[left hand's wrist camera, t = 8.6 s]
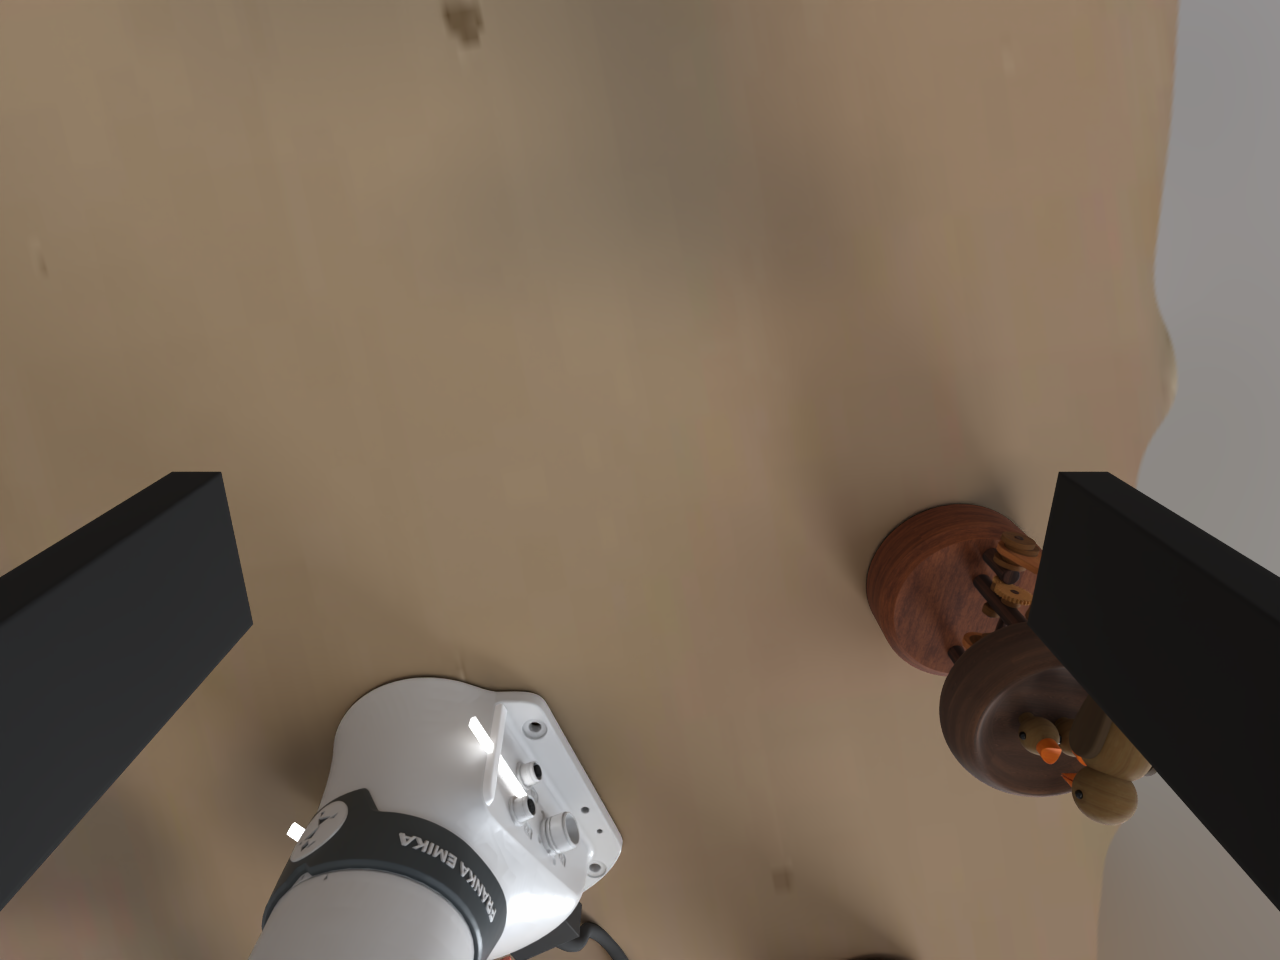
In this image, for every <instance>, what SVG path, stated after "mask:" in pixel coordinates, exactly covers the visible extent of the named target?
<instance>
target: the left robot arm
mask: <svg viewBox="0 0 1280 960" xmlns="http://www.w3.org/2000/svg"><path fill="white" fill-rule="evenodd" d="M252 625H253V621H252V616H251V612H250V607H249V602H248V597H247V593H246V588H245V583H244V578H243V574H242V569H241V564H240V559H239V555H238V550H237V545H236V540H235V536H234V531H233V526H232V521H231V516H230V512H229V507H228V502H227V497H226V493H225V488H224V483H223V478H222V474H221V472H171V473H170V474H168V475H166V476H165V477H163V478H161V479H160V480H158V481H157V482H155V483H153V484H152V485H150V486H148V487H147V488H145V489H143V490H142V491H140V492H139V493H137V494H135V495H134V496H132V497H130V498H129V499H127V500H126V501H124V502H122V503H121V504H119V505H117V506H116V507H114V508H113V509H111V510H109V511H108V512H106V513H104V514H103V515H101V516H100V517H98V518H96V519H95V520H93V521H91V522H90V523H88V524H86V525H85V526H83V527H82V528H80V529H78V530H77V531H75V532H73V533H72V534H70V535H69V536H67V537H65V538H64V539H62V540H60V541H59V542H57V543H56V544H54V545H52V546H51V547H49V548H47V549H46V550H44V551H42V552H41V553H39V554H38V555H36V556H34V557H33V558H31V559H29V560H28V561H26V562H25V563H23V564H21V565H20V566H18V567H16V568H15V569H13V570H12V571H10V572H8V573H7V574H5V575H3V576H2V577H0V911H1V910H2V909H3V908H4V906H5V905H6V904H7V903H8V902H9V901H10V900H11V899H12V897H13V896H14V895H15V894H16V893H17V892H18V891H19V889H20V888H21V887H22V886H23V885H24V884H25V883H26V881H27V880H28V879H29V878H30V877H31V876H32V875H33V874H34V872H35V871H36V870H37V869H38V868H39V867H40V866H41V864H42V863H43V862H44V861H45V860H46V859H47V858H48V857H49V855H50V854H51V853H52V852H53V851H54V850H55V849H56V847H57V846H58V845H59V844H60V843H61V842H62V841H63V839H64V838H65V837H66V836H67V835H68V834H69V833H70V832H71V830H72V829H73V828H74V827H75V826H76V825H77V824H78V822H79V821H80V820H81V819H82V818H83V817H84V816H85V814H86V813H87V812H88V811H89V810H90V809H91V808H92V807H93V805H94V804H95V803H96V802H97V801H98V800H99V799H100V797H101V796H102V795H103V794H104V793H105V792H106V791H107V790H108V788H109V787H110V786H111V785H112V784H113V783H114V782H115V780H116V779H117V778H118V777H119V776H120V775H121V774H122V772H123V771H124V770H125V769H126V768H127V767H128V766H129V765H130V763H131V762H132V761H133V760H134V759H135V758H136V757H137V755H138V754H139V753H140V752H141V751H142V750H143V749H144V747H145V746H146V745H147V744H148V743H149V742H150V741H151V740H152V738H153V737H154V736H155V735H156V734H157V733H158V732H159V730H160V729H161V728H162V727H163V726H164V725H165V724H166V722H167V721H168V720H169V719H170V718H171V717H172V716H173V715H174V713H175V712H176V711H177V710H178V709H179V708H180V707H181V705H182V704H183V703H184V702H185V701H186V700H187V699H188V698H189V696H190V695H191V694H192V693H193V692H194V691H195V690H196V688H197V687H198V686H199V685H200V684H201V683H202V682H203V680H204V679H205V678H206V677H207V676H208V675H209V674H210V673H211V671H212V670H213V669H214V668H215V667H216V666H217V665H218V663H219V662H220V661H221V660H222V659H223V658H224V657H225V655H226V654H227V653H228V652H229V651H230V650H231V649H232V648H233V646H234V645H235V644H236V643H237V642H238V641H239V640H240V638H241V637H242V636H243V635H244V634H245V633H246V632H247V631H248V629H249V628H250V627H251V626H252ZM1027 625H1028V626H1029V627H1030V628H1031V629H1032V631H1033V632H1034V633H1035V634H1036V635H1037V636H1038V637H1039V638H1040V640H1041V641H1042V642H1043V643H1044V644H1045V645H1046V646H1047V648H1048V649H1049V650H1050V651H1051V652H1052V653H1053V654H1054V655H1055V657H1056V658H1057V659H1058V660H1059V661H1060V662H1061V663H1062V665H1063V666H1064V667H1065V668H1066V669H1067V670H1068V671H1069V673H1070V674H1071V675H1072V676H1073V677H1074V678H1075V679H1076V680H1077V682H1078V683H1079V684H1080V685H1081V686H1082V687H1083V688H1084V690H1085V691H1086V692H1087V693H1088V694H1089V695H1090V696H1091V698H1092V699H1093V700H1094V701H1095V702H1096V703H1097V704H1098V705H1099V707H1100V708H1101V709H1102V710H1103V711H1104V712H1105V713H1106V715H1107V716H1108V717H1109V718H1110V719H1111V720H1112V721H1113V722H1114V724H1115V725H1116V726H1117V727H1118V728H1119V729H1120V730H1121V732H1122V733H1123V734H1124V735H1125V736H1126V737H1127V738H1128V740H1129V741H1130V742H1131V743H1132V744H1133V745H1134V746H1135V747H1136V749H1137V750H1138V751H1139V752H1140V753H1141V754H1142V755H1143V757H1144V758H1145V759H1146V760H1147V761H1148V762H1149V763H1150V765H1151V766H1152V767H1153V768H1154V769H1155V770H1156V771H1157V772H1158V774H1159V775H1160V776H1161V777H1162V778H1163V779H1164V780H1165V782H1166V783H1167V784H1168V785H1169V786H1170V787H1171V788H1172V789H1173V791H1174V792H1175V793H1176V794H1177V795H1178V796H1179V797H1180V799H1181V800H1182V801H1183V802H1184V803H1185V804H1186V805H1187V807H1188V808H1189V809H1190V810H1191V811H1192V812H1193V813H1194V814H1195V816H1196V817H1197V818H1198V819H1199V820H1200V821H1201V822H1202V824H1203V825H1204V826H1205V827H1206V828H1207V829H1208V830H1209V832H1210V833H1211V834H1212V835H1213V836H1214V837H1215V838H1216V839H1217V841H1218V842H1219V843H1220V844H1221V845H1222V846H1223V847H1224V849H1225V850H1226V851H1227V852H1228V853H1229V854H1230V855H1231V857H1232V858H1233V859H1234V860H1235V861H1236V862H1237V863H1238V864H1239V866H1240V867H1241V868H1242V869H1243V870H1244V871H1245V872H1246V873H1247V875H1248V876H1249V877H1250V878H1251V879H1252V880H1253V881H1254V883H1255V884H1256V885H1257V886H1258V887H1259V888H1260V889H1261V891H1262V892H1263V893H1264V894H1265V895H1266V896H1267V897H1268V899H1269V900H1270V901H1271V902H1272V903H1273V904H1274V905H1275V906H1276V908H1277V909H1278V910H1279V911H1280V577H1278V576H1277V575H1275V574H1273V573H1272V572H1270V571H1268V570H1267V569H1265V568H1264V567H1262V566H1260V565H1259V564H1257V563H1255V562H1254V561H1252V560H1251V559H1249V558H1247V557H1246V556H1244V555H1242V554H1241V553H1239V552H1237V551H1236V550H1234V549H1233V548H1231V547H1229V546H1228V545H1226V544H1224V543H1223V542H1221V541H1220V540H1218V539H1216V538H1215V537H1213V536H1211V535H1210V534H1208V533H1207V532H1205V531H1203V530H1202V529H1200V528H1198V527H1197V526H1195V525H1194V524H1192V523H1190V522H1189V521H1187V520H1185V519H1184V518H1182V517H1180V516H1179V515H1177V514H1176V513H1174V512H1172V511H1171V510H1169V509H1167V508H1166V507H1164V506H1163V505H1161V504H1159V503H1158V502H1156V501H1154V500H1153V499H1151V498H1150V497H1148V496H1146V495H1145V494H1143V493H1141V492H1140V491H1138V490H1137V489H1135V488H1133V487H1132V486H1130V485H1128V484H1127V483H1125V482H1123V481H1122V480H1120V479H1119V478H1117V477H1115V476H1114V475H1112V474H1110V473H1109V472H1059V474H1058V478H1057V483H1056V488H1055V493H1054V497H1053V502H1052V507H1051V512H1050V516H1049V521H1048V526H1047V531H1046V536H1045V540H1044V545H1043V550H1042V555H1041V559H1040V564H1039V569H1038V574H1037V578H1036V583H1035V588H1034V593H1033V597H1032V602H1031V607H1030V612H1029V616H1028V621H1027Z"/></svg>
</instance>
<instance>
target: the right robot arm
mask: <svg viewBox="0 0 1280 960" xmlns="http://www.w3.org/2000/svg"><path fill="white" fill-rule="evenodd" d="M532 722H537V723H539V724H540V725H533V724H532ZM287 835H289V836H290V837H292V838H293V839H295V840H296V841H297V844H296V845H295V847H294V849H293V851H292V854H291V856H290V858H289V860H288V862H287V864H286V866H285V868H284V870H283V872H282V874H281V876H280V878H279V880H278V882H277V884H276V886H275V889H274V891H273V893H272V895H271V897H270V899H269V901H268V903H267V906H266V908H265V911H264V914H263V919H262V933H261V934H260V936H259V938H258V940H257V942H256V944H255V946H254V948H253V950H252V952H251V954H250V956H249V958H248V960H493V959H496V958H499V957H502V956H505V955H507V954H511V955H512V956H513V957H514V958H515V960H527V959H529V958H532V957H534V956H536V955H538V954H541V953H543V952H545V951H547V950H550V949H552V948H554V947H557V948H559V949H561V950H564V951H567V952H577V951H580V950H581V949H582V948H583V947H584V946H585V945H586V943H587V941H588V939H589V938H592V939H594V940H595V941H597V942H598V943H599V944H601V945H602V946H603V947H604V949H605V950H606V951H607V952H608V953H609V955H610V956H611V958H612V959H613V960H628V958H627V957H626V955H625V954H624V952H623V951H622V949H621V948H620V947H619V945H618V944H617V943H616V942H615V941H614V940H613V939H612V938H611V936H610V935H609V934H608V933H607V932H606V931H605V930H603V929H602V928H601V927H599V926H598V925H596V924H593V923H583V924H582V925H581V926H580V922H581V909H582V904H581V903H580V902H579V900H580V898H581V896H582V893H583V892H584V891H586V890H587V889H588V888H590V887H591V886H593V885H594V884H595V883H596V882H598V881H599V880H600V879H601V878H602V877H603V876H604V875H605V874H606V873H607V872H608V871H609V870H610V869H611V868H612V866H613V865H614V864H615V862H616V860H617V859H618V857H619V855H620V853H621V849H622V843H623V840H622V837H621V834H620V833H619V831H618V829H617V827H616V825H615V823H614V822H613V820H612V818H611V816H610V815H609V813H608V811H607V809H606V808H605V806H604V804H603V802H602V800H601V799H600V797H599V795H598V793H597V792H596V790H595V788H594V786H593V785H592V783H591V781H590V779H589V777H588V776H587V774H586V772H585V770H584V769H583V767H582V765H581V763H580V762H579V760H578V758H577V756H576V754H575V753H574V751H573V749H572V747H571V746H570V744H569V742H568V740H567V739H566V737H565V735H564V733H563V732H562V730H561V728H560V726H559V724H558V723H557V721H556V719H555V717H554V716H553V714H552V712H551V710H550V709H549V707H548V705H547V703H546V702H545V700H544V699H543V698H542V697H541V696H539V695H537V694H534V693H530V692H520V691H505V692H495V691H490V690H486V689H482V688H479V687H476V686H473V685H470V684H467V683H464V682H460V681H456V680H451V679H444V678H434V677H421V678H410V679H404V680H399V681H395V682H392V683H388V684H386V685H383V686H381V687H379V688H376V689H374V690H373V691H371V692H369V693H367V694H366V695H364V696H363V697H362V698H360V699H359V700H358V701H357V702H356V703H355V704H354V705H353V706H352V707H351V708H350V709H349V710H348V711H347V713H346V714H345V715H344V717H343V719H342V720H341V722H340V724H339V726H338V729H337V732H336V735H335V740H334V748H333V758H332V764H331V769H330V773H329V777H328V781H327V784H326V788H325V791H324V794H323V797H322V800H321V803H320V806H319V808H318V811H317V813H316V814H315V815H314V817H313V818H312V820H311V821H310V823H309V824H308V826H307V828H306V829H304V828H302V827H301V826H299V825H298V824H296V823H293V824H292V826H291V827H290V829H289V831H288V833H287ZM594 863H595V864H594ZM501 960H511V958H510V956H508V957H505V958H503V959H501Z"/></svg>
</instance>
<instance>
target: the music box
mask: <svg viewBox="0 0 1280 960" xmlns="http://www.w3.org/2000/svg"><path fill="white" fill-rule="evenodd" d="M1041 555H1042V549H1041V548H1040V547H1039V546H1038V545H1037V544H1036V542H1035V541H1034V540H1033V539H1031V538H1029V537H1028V536H1027V535H1026V534H1025V533H1024V532H1022V531H1021V530H1020V529H1019V528H1018V527H1017V526H1016V525H1015V524H1014V523H1012V522H1011V521H1010V520H1009V519H1008V518H1006V517H1005V516H1003V515H1001V514H1000V513H998V512H996V511H993V510H991V509H988V508H985V507H981V506H976V505H969V504H953V505H945V506H940V507H936V508H933V509H929V510H927V511H924V512H922V513H919V514H917V515H915V516H913V517H912V518H910V519H908V520H907V521H905V522H904V523H902V524H901V525H900V526H898V527H897V528H896V529H895V530H894V531H893V532H892V533H891V534H890V535H889V536H888V537H887V538H886V539H885V540H884V541H883V543H882V544H881V546H880V547H879V548H878V550H877V552H876V554H875V555H874V558H873V560H872V562H871V565H870V568H869V572H868V577H867V598H868V602H869V606H870V608H871V611H872V613H873V615H874V617H875V619H876V621H877V622H878V624H879V626H880V628H881V630H882V632H883V633H884V635H885V637H886V639H887V641H888V643H889V644H890V646H891V647H892V649H893V650H894V651H895V652H896V653H897V654H898V655H899V656H900V657H901V658H902V659H903V660H904V661H906V662H907V663H909V664H910V665H912V666H914V667H915V668H917V669H920V670H922V671H925V672H928V673H931V674H935V675H941V676H947V678H946V680H945V682H944V685H943V688H942V692H941V697H940V706H939V714H940V723H941V728H942V732H943V735H944V738H945V740H946V743H947V745H948V747H949V748H950V750H951V752H952V753H953V755H954V756H955V758H956V759H957V760H958V762H959V763H960V764H961V765H962V766H963V767H964V768H965V769H966V770H967V771H968V772H969V773H970V774H972V775H973V776H974V777H976V778H977V779H978V780H980V781H982V782H983V783H985V784H987V785H989V786H991V787H993V788H995V789H998V790H1000V791H1003V792H1006V793H1010V794H1014V795H1019V796H1028V797H1047V796H1056V795H1061V794H1066V793H1069V792H1072V795H1073V799H1074V801H1075V803H1076V805H1077V806H1078V808H1079V809H1080V810H1081V812H1082V813H1083V814H1085V815H1086V816H1087V817H1088V818H1090V819H1091V820H1093V821H1095V822H1098V823H1101V824H1105V825H1117V824H1121V823H1124V822H1126V821H1127V820H1129V819H1130V818H1131V817H1132V816H1133V814H1134V813H1135V811H1136V809H1137V804H1138V797H1137V792H1136V789H1135V787H1134V785H1133V783H1132V782H1131V781H1135V780H1137V779H1140V778H1141V777H1143V776H1151V775H1153V774H1155V773H1156V772H1157V771H1156V770H1155V769H1154V768H1153V767H1152V766H1151V765H1150V763H1149V762H1148V761H1147V760H1146V759H1145V758H1144V757H1143V755H1142V754H1141V753H1140V752H1139V751H1138V750H1137V749H1136V747H1135V746H1134V745H1133V744H1132V743H1131V742H1130V741H1129V740H1128V738H1127V737H1126V736H1125V735H1124V734H1123V733H1122V732H1121V730H1120V729H1119V728H1118V727H1117V726H1116V725H1115V724H1114V722H1113V721H1112V720H1111V719H1110V718H1109V717H1108V716H1107V715H1106V713H1105V712H1104V711H1103V710H1102V709H1101V708H1100V707H1099V705H1098V704H1097V703H1096V702H1095V701H1094V700H1093V699H1092V698H1091V696H1090V695H1089V694H1088V693H1087V692H1086V691H1085V690H1084V688H1083V687H1082V686H1081V685H1080V684H1079V683H1078V682H1077V680H1076V679H1075V678H1074V677H1073V676H1072V675H1071V674H1070V673H1069V671H1068V670H1067V669H1066V668H1065V667H1064V666H1063V665H1062V663H1061V662H1060V661H1059V660H1058V659H1057V658H1056V657H1055V655H1054V654H1053V653H1052V652H1051V651H1050V650H1049V649H1048V648H1047V646H1046V645H1045V644H1044V643H1043V642H1042V641H1041V640H1040V638H1039V637H1038V636H1037V635H1036V634H1035V633H1034V632H1033V631H1032V629H1031V628H1030V627H1029V626H1028V625H1027V621H1028V616H1029V612H1030V607H1031V602H1032V597H1033V593H1034V588H1035V583H1036V578H1037V574H1038V569H1039V564H1040V559H1041Z"/></svg>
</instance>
